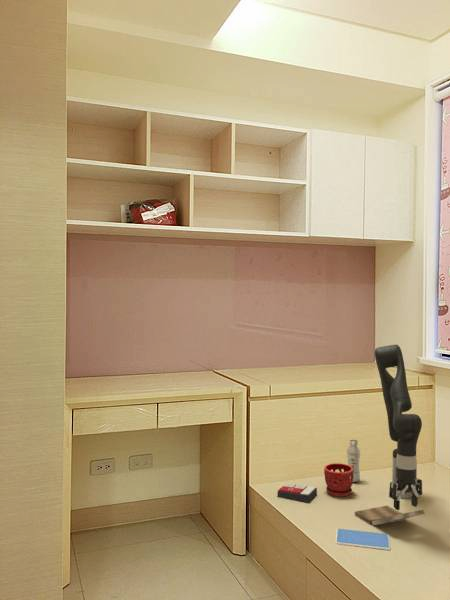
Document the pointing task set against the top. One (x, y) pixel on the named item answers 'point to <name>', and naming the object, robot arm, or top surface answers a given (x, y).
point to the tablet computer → (362, 539)
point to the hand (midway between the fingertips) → (405, 507)
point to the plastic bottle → (354, 459)
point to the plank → (398, 517)
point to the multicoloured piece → (297, 492)
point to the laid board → (376, 513)
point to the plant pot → (338, 479)
